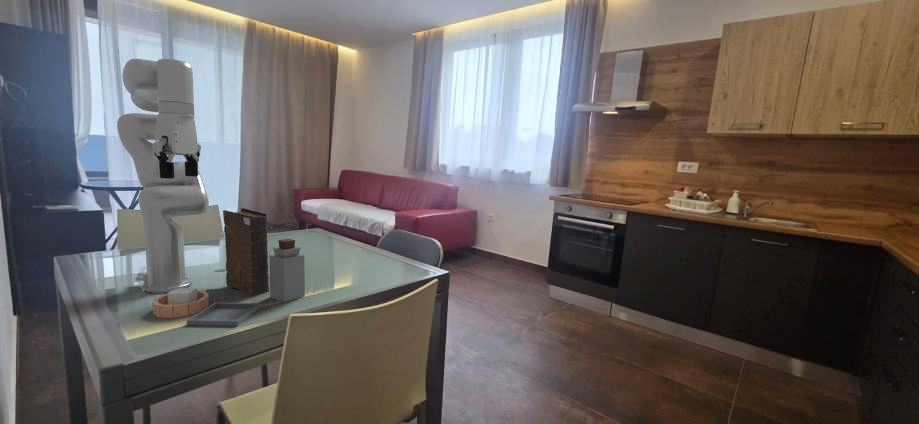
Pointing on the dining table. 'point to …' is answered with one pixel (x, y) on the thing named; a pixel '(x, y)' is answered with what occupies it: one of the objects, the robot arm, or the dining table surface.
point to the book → (246, 251)
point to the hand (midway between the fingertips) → (180, 177)
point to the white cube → (182, 296)
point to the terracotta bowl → (179, 306)
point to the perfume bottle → (287, 272)
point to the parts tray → (224, 314)
